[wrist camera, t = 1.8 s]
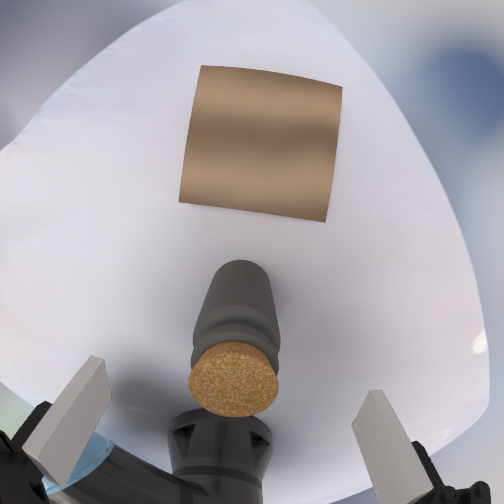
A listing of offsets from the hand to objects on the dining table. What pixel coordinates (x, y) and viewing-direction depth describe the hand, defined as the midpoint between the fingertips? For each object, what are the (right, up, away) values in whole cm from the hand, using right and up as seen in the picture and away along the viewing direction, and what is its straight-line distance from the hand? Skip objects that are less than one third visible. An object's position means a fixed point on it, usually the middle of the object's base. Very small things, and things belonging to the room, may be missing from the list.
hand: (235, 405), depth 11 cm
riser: (+2, +17, +13) cm, 21 cm away
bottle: (0, +4, +16) cm, 17 cm away
